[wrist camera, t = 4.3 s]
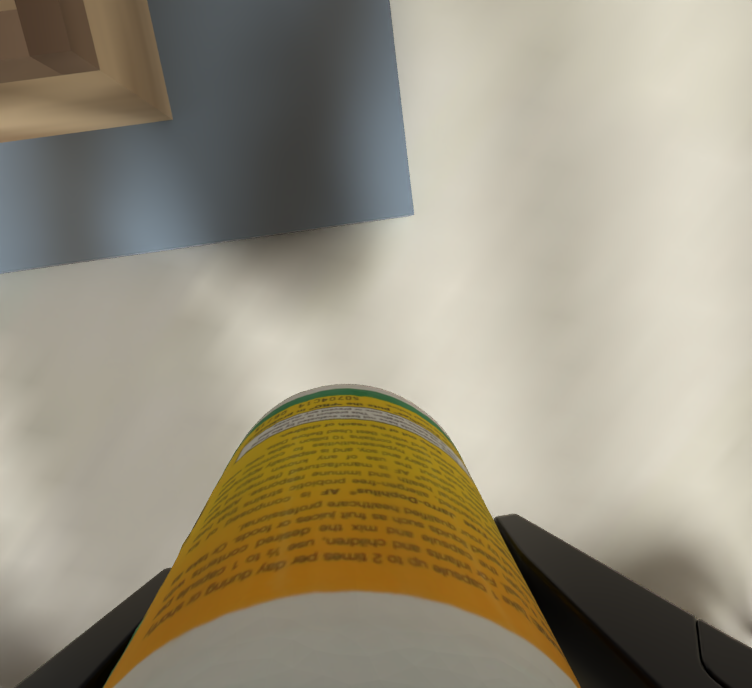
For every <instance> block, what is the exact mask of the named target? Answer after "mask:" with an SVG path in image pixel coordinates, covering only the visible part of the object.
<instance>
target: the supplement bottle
mask: <svg viewBox="0 0 752 688" xmlns="http://www.w3.org/2000/svg"><path fill="white" fill-rule="evenodd" d="M103 688H581V687H580V685H579V683H578V681H577V679H576V677H575V675H574V673H573V671H572V669H571V668H570V666H569V664H568V662H567V660H566V658H565V656H564V654H563V652H562V650H561V648H560V646H559V645H558V643H557V641H556V639H555V637H554V635H553V633H552V631H551V629H550V627H549V625H548V624H547V622H546V620H545V618H544V616H543V614H542V612H541V610H540V608H539V606H538V605H537V603H536V601H535V599H534V597H533V595H532V593H531V591H530V589H529V588H528V586H527V584H526V582H525V580H524V578H523V576H522V574H521V572H520V570H519V569H518V567H517V565H516V563H515V561H514V559H513V557H512V555H511V553H510V552H509V550H508V548H507V546H506V544H505V542H504V540H503V538H502V536H501V534H500V532H499V530H498V528H497V526H496V524H495V522H494V520H493V518H492V516H491V514H490V513H489V511H488V509H487V507H486V505H485V503H484V501H483V499H482V497H481V495H480V493H479V491H478V489H477V487H476V485H475V484H474V482H473V480H472V478H471V476H470V474H469V472H468V470H467V468H466V466H465V464H464V462H463V460H462V458H461V456H460V454H459V452H458V451H457V449H456V447H455V445H454V444H453V442H452V441H451V439H450V438H449V436H448V435H447V433H446V432H445V431H444V429H443V428H442V427H441V426H440V425H439V424H438V423H437V422H436V421H435V420H434V419H433V418H432V417H431V416H429V415H428V414H427V413H426V412H424V411H423V410H422V409H420V408H419V407H418V406H416V405H415V404H413V403H412V402H410V401H408V400H406V399H404V398H403V397H401V396H398V395H396V394H394V393H392V392H389V391H386V390H383V389H380V388H375V387H371V386H365V385H357V384H336V385H328V386H322V387H318V388H314V389H310V390H307V391H303V392H300V393H298V394H296V395H293V396H291V397H289V398H287V399H286V400H284V401H282V402H281V403H279V404H278V405H276V406H275V407H274V408H273V409H271V410H270V411H269V412H267V413H266V414H265V415H264V416H263V417H262V418H261V419H260V420H259V421H258V422H257V423H256V424H255V425H254V426H253V427H252V429H251V430H250V431H249V432H248V434H247V435H246V436H245V438H244V439H243V441H242V443H241V444H240V446H239V447H238V449H237V450H236V452H235V453H234V455H233V457H232V459H231V460H230V462H229V464H228V465H227V467H226V469H225V471H224V473H223V475H222V477H221V478H220V480H219V481H218V483H217V485H216V487H215V489H214V490H213V492H212V494H211V496H210V498H209V500H208V501H207V503H206V505H205V507H204V509H203V511H202V512H201V514H200V516H199V518H198V520H197V522H196V523H195V525H194V527H193V529H192V531H191V533H190V534H189V536H188V537H187V539H186V540H185V542H184V543H183V545H182V548H181V550H180V553H179V555H178V557H177V559H176V561H175V563H174V565H173V567H172V568H171V570H170V572H169V573H168V575H167V577H166V578H165V580H164V582H163V584H162V585H161V587H160V589H159V591H158V593H157V594H156V596H155V598H154V600H153V602H152V604H151V606H150V608H149V609H148V611H147V613H146V614H145V616H144V618H143V620H142V621H141V623H140V624H139V626H138V627H137V629H136V630H135V632H134V634H133V636H132V638H131V640H130V642H129V643H128V645H127V647H126V649H125V651H124V653H123V654H122V656H121V658H120V659H119V661H118V663H117V664H116V666H115V667H114V669H113V670H112V672H111V674H110V676H109V677H108V679H107V681H106V683H105V685H104V686H103Z"/></svg>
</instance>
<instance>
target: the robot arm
mask: <svg viewBox="0 0 752 688" xmlns="http://www.w3.org/2000/svg"><path fill="white" fill-rule="evenodd" d="M494 522H495V524H496V526H497V528H498V530H499V532H500V534H501V536H502V538H503V540H504V542H505V544H506V546H507V548H508V550H509V552H510V553H511V555H512V557H513V559H514V561H515V563H516V565H517V567H518V569H519V570H520V572H521V574H522V576H523V578H524V580H525V582H526V584H527V586H528V588H529V589H530V591H531V593H532V595H533V597H534V599H535V601H536V603H537V605H538V606H539V608H540V610H541V612H542V614H543V616H544V618H545V620H546V622H547V624H548V625H549V627H550V629H551V631H552V633H553V635H554V637H555V639H556V641H557V643H558V645H559V646H560V648H561V650H562V652H563V654H564V656H565V658H566V660H567V662H568V664H569V666H570V668H571V669H572V671H573V673H574V675H575V677H576V679H577V681H578V683H579V685H580V687H581V688H752V648H751V647H749V646H747V645H745V644H743V643H741V642H740V641H738V640H736V639H734V638H732V637H731V636H729V635H727V634H725V633H723V632H722V631H720V630H718V629H716V628H715V627H713V626H711V625H710V624H708V623H706V622H704V621H703V620H697V622H696V618H695V616H693V615H692V614H690V613H688V612H686V611H685V610H683V609H681V608H680V607H678V606H676V605H674V604H673V603H671V602H669V601H667V600H666V599H664V598H662V597H660V596H659V595H657V594H655V593H653V592H652V591H650V590H648V589H646V588H645V587H643V586H641V585H639V584H638V583H636V582H634V581H632V580H631V579H629V578H627V577H626V576H624V575H622V574H620V573H619V572H617V571H615V570H613V569H612V568H610V567H608V566H606V565H605V564H603V563H601V562H599V561H598V560H596V559H594V558H592V557H591V556H589V555H587V554H585V553H584V552H582V551H580V550H578V549H577V548H575V547H573V546H571V545H570V544H568V543H566V542H565V541H563V540H561V539H559V538H558V537H556V536H554V535H552V534H551V533H549V532H547V531H545V530H544V529H542V528H540V527H538V526H537V525H535V524H533V523H531V522H530V521H528V520H526V519H524V518H523V517H521V516H519V515H517V514H509V515H503V516H497V517H495V518H494ZM170 570H171V568H167V569H164V570H163V571H161V572H160V573H159V574H157V575H156V576H155V577H154V578H152V579H151V580H150V581H149V582H147V583H146V584H145V585H144V586H142V587H141V588H140V589H138V590H137V591H136V592H135V593H133V594H132V595H131V596H130V597H128V598H127V599H126V600H125V601H123V602H122V603H121V604H119V605H118V606H117V607H116V608H114V609H113V610H112V611H111V612H109V613H108V614H107V615H106V616H104V617H103V618H102V619H100V620H99V621H98V622H97V623H95V624H94V625H93V626H92V627H90V628H89V629H88V630H87V631H85V632H84V633H83V634H81V635H80V636H79V637H78V638H76V639H75V640H74V641H73V642H71V643H70V644H69V645H68V646H66V647H65V648H64V649H62V650H61V651H60V652H59V653H57V654H56V655H55V656H54V657H52V658H51V659H50V660H49V661H47V662H46V663H45V664H43V665H42V666H41V667H40V668H38V669H37V670H36V671H35V672H33V673H32V674H31V675H30V676H28V677H27V678H26V679H25V680H23V681H22V682H21V683H19V684H18V685H17V686H16V687H14V688H103V686H104V685H105V683H106V681H107V679H108V677H109V676H110V674H111V672H112V670H113V669H114V667H115V666H116V664H117V663H118V661H119V659H120V658H121V656H122V654H123V653H124V651H125V649H126V647H127V645H128V643H129V642H130V640H131V638H132V636H133V634H134V632H135V630H136V629H137V627H138V626H139V624H140V623H141V621H142V620H143V618H144V616H145V614H146V613H147V611H148V609H149V608H150V606H151V604H152V602H153V600H154V598H155V596H156V594H157V593H158V591H159V589H160V587H161V585H162V584H163V582H164V580H165V578H166V577H167V575H168V573H169V572H170Z"/></svg>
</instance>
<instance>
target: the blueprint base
mask: <svg viewBox="0 0 752 688" xmlns="http://www.w3.org/2000/svg"><path fill="white" fill-rule="evenodd" d="M411 215H414V210H413V201H412V193H411V184H410V175H409V167H408V158H407V149H406V141H405V132H404V124H403V115H402V106H401V98H400V89H399V80H398V72H397V63H396V54H395V46H394V37H393V28H392V20H391V11H390V2H389V0H0V274H2V273H9V272H16V271H23V270H30V269H38V268H45V267H52V266H59V265H66V264H73V263H80V262H87V261H94V260H101V259H108V258H116V257H123V256H130V255H137V254H144V253H151V252H158V251H165V250H172V249H179V248H186V247H194V246H201V245H208V244H215V243H222V242H229V241H236V240H243V239H250V238H257V237H264V236H272V235H279V234H286V233H293V232H300V231H307V230H314V229H321V228H328V227H335V226H342V225H350V224H357V223H364V222H371V221H378V220H385V219H392V218H399V217H406V216H411Z"/></svg>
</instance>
